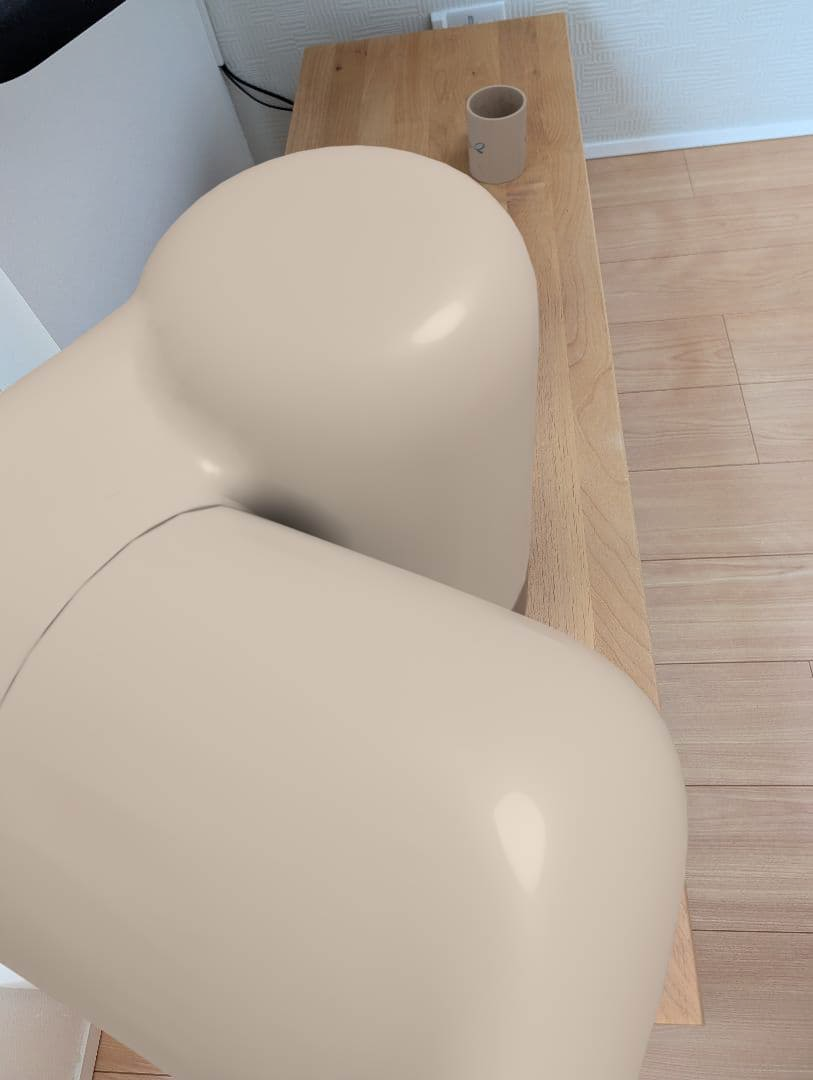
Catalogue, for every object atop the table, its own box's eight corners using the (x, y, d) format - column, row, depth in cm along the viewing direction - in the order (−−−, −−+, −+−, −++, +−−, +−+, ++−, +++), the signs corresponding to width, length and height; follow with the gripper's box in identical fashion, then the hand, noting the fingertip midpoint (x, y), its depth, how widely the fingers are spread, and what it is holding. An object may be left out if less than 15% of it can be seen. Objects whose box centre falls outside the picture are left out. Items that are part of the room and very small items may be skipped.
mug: (529, 179, 117) (531, 114, 109) (472, 187, 118) (469, 124, 109) (517, 131, 124) (518, 66, 115) (463, 139, 124) (460, 76, 116)
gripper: (395, 351, 28) (433, 572, 43) (153, 814, 21) (300, 891, 35) (599, 394, 26) (567, 611, 41) (414, 927, 19) (455, 959, 33)
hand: (443, 741), depth 38 cm, fingers open, 9 cm apart
